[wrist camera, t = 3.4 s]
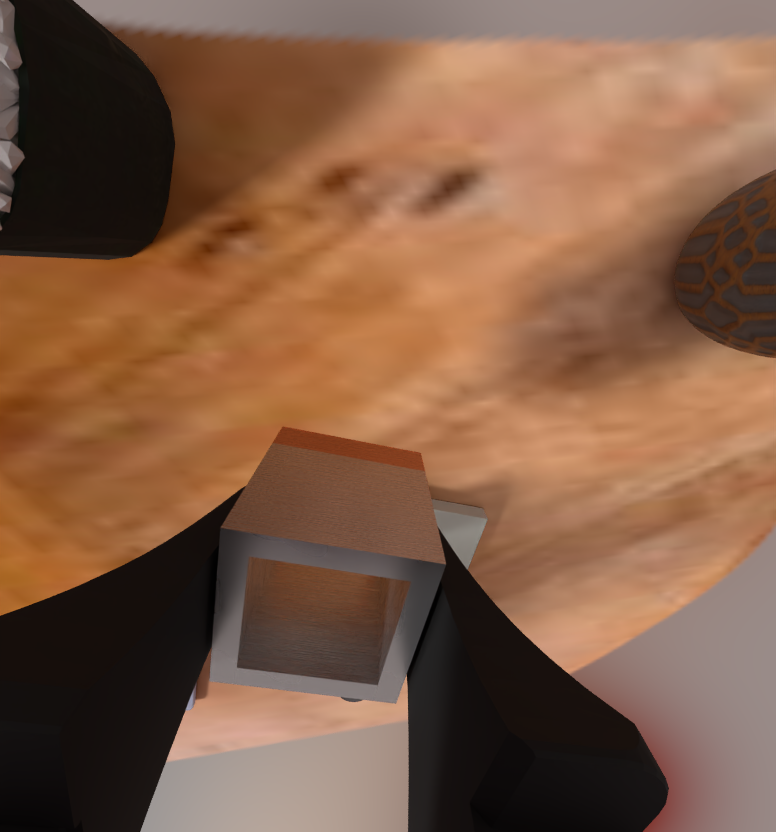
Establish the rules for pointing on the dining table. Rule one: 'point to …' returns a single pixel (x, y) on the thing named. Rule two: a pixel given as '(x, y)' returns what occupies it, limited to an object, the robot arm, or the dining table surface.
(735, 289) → the vase
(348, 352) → the dining table surface
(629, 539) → the dining table surface
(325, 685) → the sleeve
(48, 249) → the sushi
